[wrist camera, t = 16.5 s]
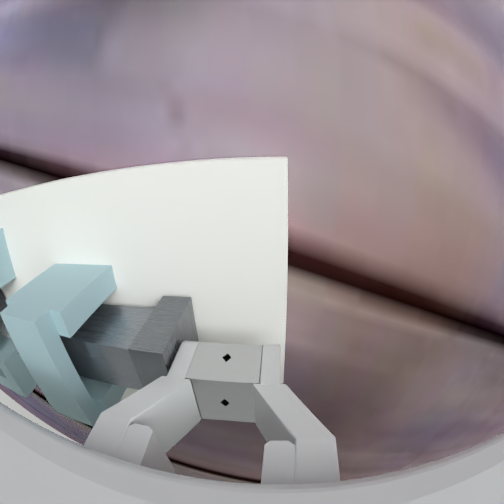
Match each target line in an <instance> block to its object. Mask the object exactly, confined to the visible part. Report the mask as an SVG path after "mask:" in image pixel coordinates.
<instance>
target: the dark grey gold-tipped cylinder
mask: <svg viewBox="0 0 504 504" xmlns="http://www.w3.org/2000/svg"><path fill="white" fill-rule="evenodd" d="M5 300H6V298H5V296H4V294H3V292H2V290H1V288H0V312H1V311H3V310H4V309H5V308H6V307H7V303H6V301H5ZM1 319H2V317H1V315H0V333H1V332H2V331H3V330H4V329H5V326H4V324H3V322H2V320H1Z"/></svg>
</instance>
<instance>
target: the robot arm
mask: <svg viewBox="0 0 504 504" xmlns="http://www.w3.org/2000/svg"><path fill="white" fill-rule="evenodd" d="M201 418H203V419H214V420H229V421H240V422H253V423H255V424H256V426H257V427H258V429H259V430H260V432H261V434H262V435H263V437H264V439H265V440H266V442H267V443H266V444H265V445H264V456H263V466H262V476H261V484H253V483H238V482H227V481H218V480H210V479H203V478H196V477H190V476H185V475H179V474H175V472H176V470H175V468H174V467H173V465H172V463H171V462H170V460H169V459H168V457H167V455H166V454H165V453H167V452H168V451H169V450H170V449H171V448H172V447H173V446H174V445H175V444H176V443H178V442H179V441H180V440H181V439H182V438H183V437H184V436H185V435H186V434H187V433H188V432H189V431H190V430H191V429H192V428H194V427H195V426H196V425H197V424H198V423H199V422H200V421H201ZM0 504H504V432H502V433H501V434H499V435H497V436H494V437H492V438H490V439H488V440H486V441H484V442H482V443H479V444H477V445H475V446H473V447H470V448H468V449H465V450H463V451H460V452H458V453H455V454H452V455H449V456H447V457H444V458H441V459H438V460H435V461H432V462H428V463H425V464H422V465H418V466H415V467H411V468H407V469H403V470H399V471H395V472H390V473H386V474H381V475H376V476H370V477H364V478H358V479H351V480H343V481H340V473H339V464H338V455H337V446H336V438H335V436H334V435H333V434H332V433H331V432H330V431H329V430H328V429H327V428H326V427H325V426H324V425H323V424H322V423H321V422H320V421H319V420H318V419H317V418H316V417H315V416H314V415H313V413H312V412H311V411H310V410H309V409H308V408H307V407H306V406H305V405H304V404H303V403H302V402H301V400H300V399H299V398H298V397H297V396H296V395H295V394H294V393H293V392H292V391H291V389H290V388H289V387H288V386H287V385H286V384H281V346H280V344H263V345H246V344H224V343H211V342H197V341H186V340H184V341H183V342H182V343H181V345H180V347H179V349H178V352H177V354H176V356H175V358H174V361H173V363H172V365H171V367H170V370H169V372H168V374H167V376H161V377H159V378H158V379H156V380H155V381H153V382H151V383H150V384H148V385H147V386H145V387H143V388H142V389H140V390H138V391H137V392H135V393H134V394H132V395H130V396H129V397H127V398H125V399H124V400H122V401H120V402H119V403H117V404H115V405H114V406H112V407H110V408H108V409H107V410H105V411H103V412H102V413H101V414H100V416H99V418H98V420H97V421H96V423H95V425H94V427H93V429H92V431H91V432H90V434H89V436H88V438H87V440H86V442H85V444H84V445H83V446H82V445H80V444H77V443H75V442H73V441H70V440H68V439H66V438H64V437H61V436H59V435H57V434H55V433H53V432H51V431H49V430H47V429H45V428H43V427H41V426H39V425H37V424H36V423H34V422H32V421H30V420H28V419H27V418H25V417H23V416H21V415H20V414H18V413H16V412H15V411H13V410H11V409H10V408H8V407H7V406H5V405H4V404H2V403H0Z"/></svg>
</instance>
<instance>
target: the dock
mask: <svg viewBox="0 0 504 504" xmlns="http://www.w3.org/2000/svg"><path fill="white" fill-rule="evenodd" d="M287 267H288V164H287V157H241V158H221V159H205V160H192V161H180V162H170V163H161V164H152V165H144V166H136V167H129V168H122V169H115V170H109V171H102V172H96V173H91V174H85V175H80V176H75V177H70V178H65V179H60V180H55V181H51V182H46V183H42V184H38V185H34V186H30V187H26V188H22V189H18V190H14V191H11V192H7V193H4V194H0V288H1V290H2V292H3V294H4V296H5V298H6V300H5V301H6V303H7V307H6V308H5V309H4V310H3V311H1V312H0V315H1V317H2V320H3V322H4V324H5V326H6V328H7V331H8V333H9V335H10V337H11V339H12V341H13V343H14V345H15V347H16V349H17V351H18V353H19V354H20V355H19V354H18V353H17V351H16V349H15V347H14V345H13V343H12V341H11V339H10V337H9V335H8V333H7V331H6V328H5V329H4V330H3V331H2V332H1V333H0V384H2V385H4V386H5V387H7V388H9V389H10V390H12V391H14V392H16V393H18V394H19V395H21V396H23V397H25V398H28V396H29V395H30V394H31V392H32V391H33V390H34V388H35V387H36V386H37V385H38V387H39V388H40V390H41V391H42V393H43V394H44V396H45V397H46V399H47V400H48V402H49V403H50V405H51V406H52V407H53V409H54V410H55V412H58V413H60V414H62V415H65V416H67V417H69V418H72V419H74V420H77V421H80V422H82V423H85V424H88V425H90V426H93V427H94V425H95V423H96V421H97V419H98V418H99V416H100V414H101V413H102V412H103V411H105V410H107V409H108V408H110V407H112V406H114V405H115V404H117V403H119V402H120V400H124V399H125V398H127V397H129V396H130V395H132V394H134V393H135V392H137V391H138V390H136V389H131V388H127V387H122V386H118V385H113V384H109V383H105V382H101V381H97V380H94V379H90V378H86V377H83V376H79V375H78V373H77V371H76V369H75V367H74V365H73V363H72V361H71V359H70V357H69V355H68V353H67V351H66V349H65V347H64V345H63V343H62V340H61V338H60V336H64V337H68V338H71V337H72V336H73V335H74V334H75V333H76V331H77V330H78V329H79V328H80V327H81V326H82V325H83V324H84V323H85V321H86V320H87V319H88V318H89V317H90V316H91V315H92V314H93V313H94V312H95V310H96V309H97V308H98V307H99V306H100V305H101V304H109V305H119V306H130V307H142V308H155V307H156V305H157V304H158V302H159V301H160V299H161V298H162V297H163V296H177V297H191V299H192V306H193V312H194V318H195V324H196V329H197V335H198V340H199V342H211V343H224V344H246V345H263V344H280V346H281V384H283V380H284V360H285V338H286V309H287ZM59 335H60V336H59Z"/></svg>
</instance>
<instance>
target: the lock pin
mask: <svg viewBox="0 0 504 504" xmlns="http://www.w3.org/2000/svg"><path fill="white" fill-rule="evenodd" d="M1 320H2V319H1ZM2 322H3V320H2ZM3 324H4V322H3ZM4 326H5V324H4ZM5 328H6V326H5ZM6 331H7V328H6ZM7 333H8V331H7ZM8 335H9V333H8ZM59 336H60V335H59ZM9 337H10V335H9ZM60 338H61V340H62V343H63V345H64V347H65V349H66V351H67V353H68V355H69V357H70V359H71V361H72V363H73V365H74V367H75V369H76V371H77V373H78V375H79V376H83V377H86V378H90V379H94V380H97V381H101V382H105V383H109V384H113V385H118V386H122V387H127V388H131V389H136V390H140V389H142V388H143V387H145V386H147V385H148V384H150V383H151V382H153V381H155V380H156V379H158V378H159V377H161V376H167V374H168V372H169V370H170V367H171V365H172V363H173V361H174V358H175V356H176V354H177V352H178V349H179V347H180V345H181V343H182V342H183V341H184V340H186V341H197V342H199V340H198V335H197V329H196V324H195V318H194V312H193V306H192V299H191V297H177V296H163V297H162V298H161V299H160V301H159V302H158V304H157V305H156V307H155V308H142V307H130V306H119V305H109V304H101V305H100V306H99V307H98V308H97V309H96V310H95V312H94V313H93V314H92V315H91V316H90V317H89V318H88V319H87V320H86V321H85V323H84V324H83V325H82V326H81V327H80V328H79V329H78V330H77V331H76V333H75V334H74V335H73V336H72V337H71V338H68V337H64V336H60ZM10 339H11V337H10ZM11 341H12V339H11ZM12 343H13V341H12ZM13 345H14V343H13ZM14 347H15V345H14ZM15 349H16V347H15ZM16 351H17V349H16ZM17 353H18V351H17ZM18 354H19V353H18ZM19 355H20V354H19Z"/></svg>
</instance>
